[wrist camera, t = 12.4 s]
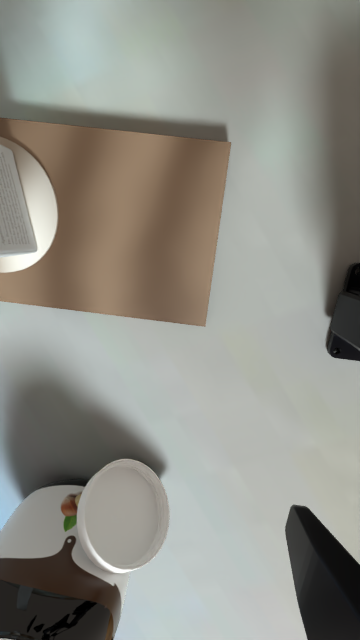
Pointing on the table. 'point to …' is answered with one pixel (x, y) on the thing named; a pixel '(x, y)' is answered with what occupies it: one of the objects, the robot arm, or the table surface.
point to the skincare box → (13, 210)
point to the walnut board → (116, 220)
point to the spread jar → (79, 553)
